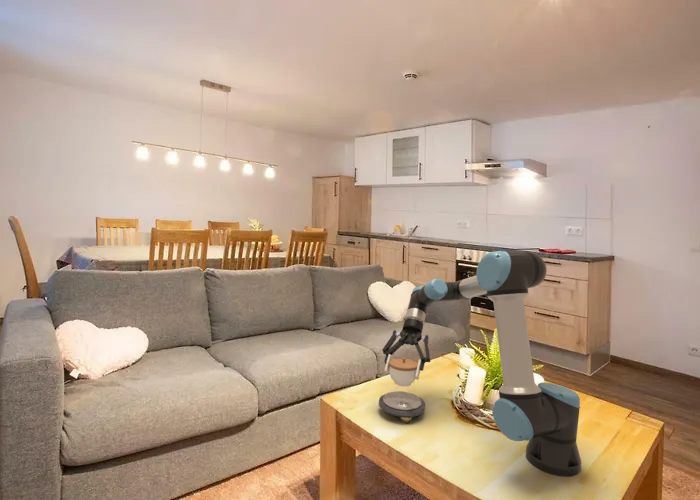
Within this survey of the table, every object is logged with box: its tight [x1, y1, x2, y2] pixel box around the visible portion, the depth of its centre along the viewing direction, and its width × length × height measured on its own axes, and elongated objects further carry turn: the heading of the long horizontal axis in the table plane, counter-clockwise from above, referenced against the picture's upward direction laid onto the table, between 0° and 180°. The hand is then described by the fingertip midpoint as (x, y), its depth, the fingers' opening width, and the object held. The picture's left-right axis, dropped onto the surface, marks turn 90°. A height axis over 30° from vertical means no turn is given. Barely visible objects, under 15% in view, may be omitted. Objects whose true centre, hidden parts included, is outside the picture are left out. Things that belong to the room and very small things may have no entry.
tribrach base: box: [378, 390, 426, 424], centre depth 155 cm, size 17×17×5 cm
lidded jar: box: [388, 357, 418, 387], centre depth 154 cm, size 11×11×9 cm
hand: (401, 374), depth 151 cm, fingers closed on lidded jar, 11 cm apart
